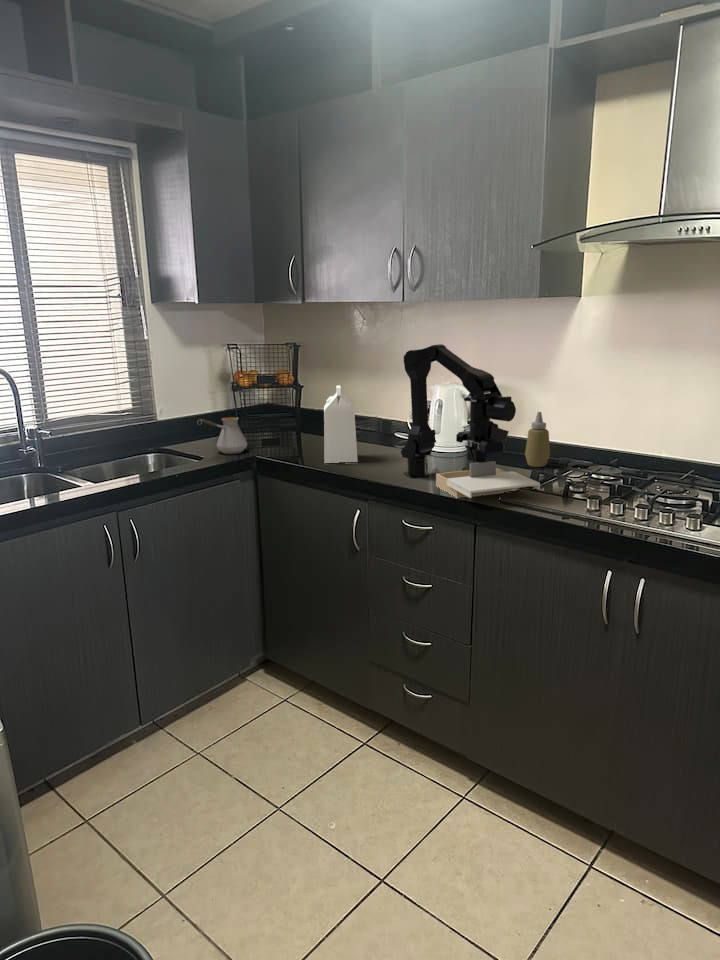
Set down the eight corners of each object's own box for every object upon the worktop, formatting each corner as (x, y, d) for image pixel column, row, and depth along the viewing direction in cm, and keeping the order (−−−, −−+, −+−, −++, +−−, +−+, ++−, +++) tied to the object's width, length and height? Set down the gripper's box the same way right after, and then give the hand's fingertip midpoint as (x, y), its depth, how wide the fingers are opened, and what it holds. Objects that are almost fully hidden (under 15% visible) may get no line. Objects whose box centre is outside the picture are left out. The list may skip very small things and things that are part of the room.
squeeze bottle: (543, 462, 235) (545, 409, 230) (553, 467, 227) (556, 413, 222) (520, 463, 233) (522, 410, 229) (530, 468, 226) (532, 414, 221)
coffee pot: (232, 447, 269) (229, 409, 265) (254, 450, 262) (251, 411, 259) (190, 458, 252) (187, 418, 248) (213, 462, 245) (209, 420, 242)
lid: (446, 485, 198) (447, 465, 197) (512, 477, 205) (513, 458, 203) (470, 498, 185) (470, 476, 183) (539, 489, 191) (540, 468, 190)
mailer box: (436, 486, 207) (436, 473, 206) (494, 479, 213) (495, 467, 212) (456, 498, 194) (457, 484, 193) (518, 491, 200) (519, 477, 199)
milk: (357, 463, 239) (355, 388, 233) (324, 464, 239) (321, 389, 232) (355, 455, 251) (354, 384, 244) (324, 456, 250) (321, 384, 244)
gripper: (522, 420, 191) (520, 474, 195) (489, 410, 209) (487, 461, 213) (486, 423, 188) (485, 478, 192) (455, 413, 205) (455, 464, 209)
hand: (478, 470), depth 202 cm, fingers closed
